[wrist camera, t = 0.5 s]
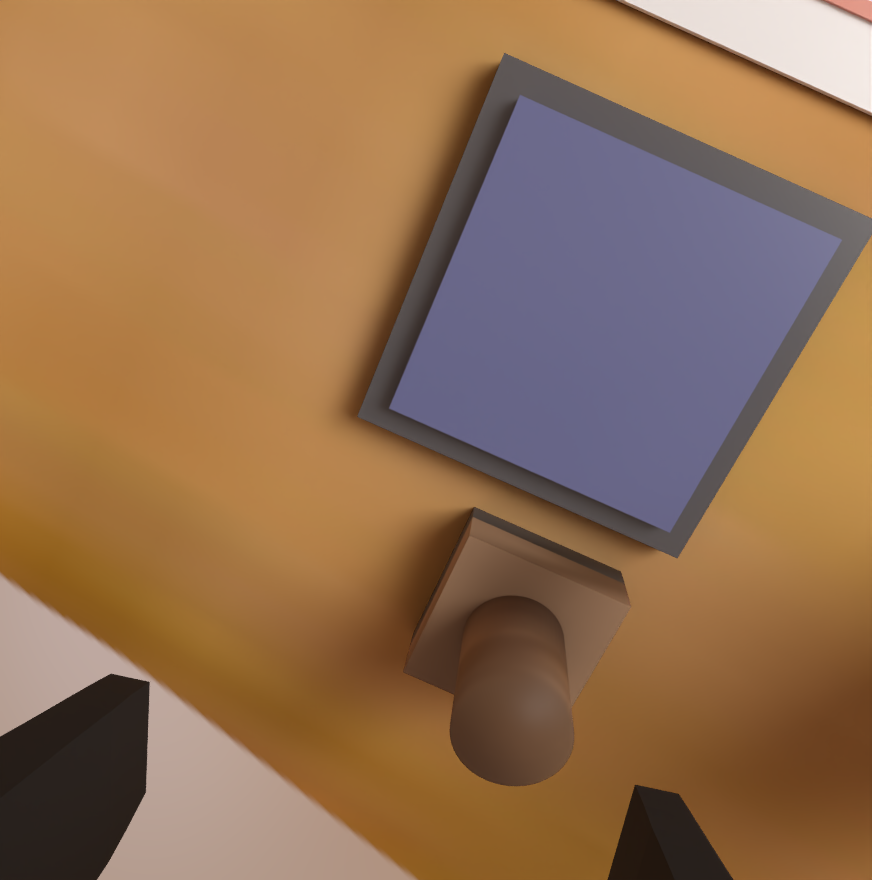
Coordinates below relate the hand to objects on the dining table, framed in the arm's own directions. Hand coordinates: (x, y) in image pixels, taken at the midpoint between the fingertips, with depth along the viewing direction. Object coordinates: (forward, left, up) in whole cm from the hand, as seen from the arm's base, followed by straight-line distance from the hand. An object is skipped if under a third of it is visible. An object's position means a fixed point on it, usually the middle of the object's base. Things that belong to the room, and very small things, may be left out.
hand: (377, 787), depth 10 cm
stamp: (-3, +2, -10) cm, 10 cm away
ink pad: (-1, -7, -10) cm, 12 cm away
